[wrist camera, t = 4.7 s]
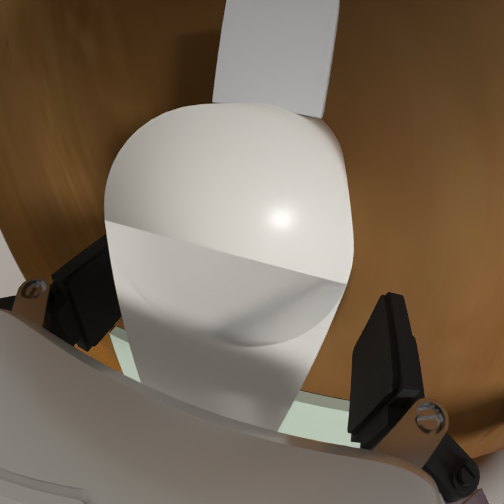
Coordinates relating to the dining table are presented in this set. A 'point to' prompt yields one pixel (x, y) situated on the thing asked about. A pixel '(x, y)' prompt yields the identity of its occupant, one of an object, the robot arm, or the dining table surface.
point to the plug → (237, 221)
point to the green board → (298, 417)
